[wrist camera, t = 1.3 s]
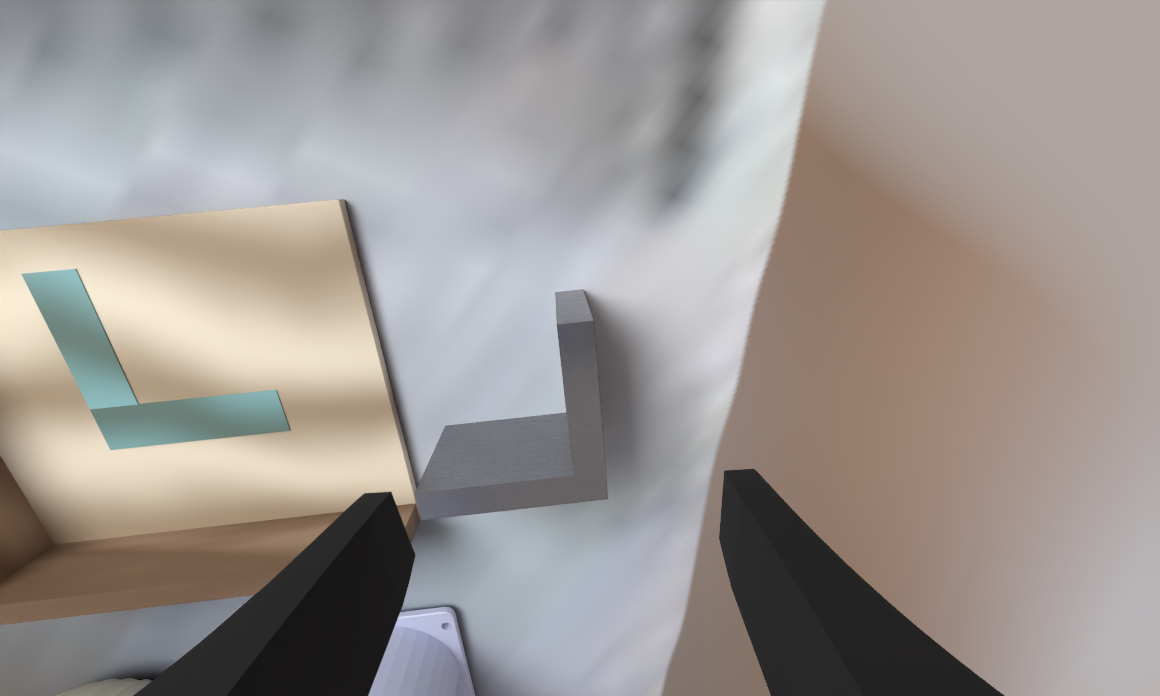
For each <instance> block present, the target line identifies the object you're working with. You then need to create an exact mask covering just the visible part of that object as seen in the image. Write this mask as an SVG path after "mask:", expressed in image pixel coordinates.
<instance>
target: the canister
mask: <svg viewBox="0 0 1160 696" xmlns="http://www.w3.org/2000/svg"><path fill="white" fill-rule="evenodd" d="M151 681H152V680H149V679H144V680H137V679H133V678H125V679H121V680H119V679H108V680H103V681H100V682H92V683H88V684H85V685H82V686H79V687H76V688H74V689H71V690H68V691H66V692H63V693H60V694H58V695H56V696H133V695H135V694H136V693H137V692H138V691H140V690H141V689H142V688H144V687H145V686H146V685H147V684H149V683H150V682H151Z"/></svg>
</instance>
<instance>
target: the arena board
mask: <svg viewBox="0 0 1160 696" xmlns="http://www.w3.org/2000/svg"><path fill="white" fill-rule="evenodd" d="M0 456H1V457H2V459H3V461H4V462H5V464H6V466H7V467H8V469H9V471H10V472H11V474H12V476H13V477H14V479H15V481H16V482H17V484H18V486H19V487H20V489H21V491H22V492H23V494H24V495H25V497H26V499H27V500H28V502H29V504H30V505H31V507H32V509H33V510H34V512H35V514H36V515H37V517H38V519H39V520H40V522H41V524H42V525H43V527H44V529H45V530H46V532H47V534H48V535H49V537H50V539H51V540H52V542H53V544H62V543H71V542H80V541H88V540H97V539H106V538H115V537H124V536H132V535H141V534H150V533H159V532H168V531H177V530H185V529H194V528H203V527H212V526H221V525H229V524H238V523H247V522H256V521H265V520H274V519H282V518H291V517H300V516H309V515H318V514H326V513H335V512H344V511H345V510H346V509H347V508H349V507H350V506H351V505H352V504H353V503H354V502H355V501H356V500H357V499H358V498H360V497H361V496H362V495H363V494H364V493H377V492H392V495H393V498H394V500H395V503H396V505H406V504H415V503H416V506H417V510H418V514H419V518H420V519H421V516H420V512H419V508H418V504H417V500H416V496H415V492H416V490H417V488H416V484H415V480H414V476H413V472H412V468H411V464H410V460H409V456H408V452H407V448H406V444H405V440H404V436H403V432H402V428H401V424H400V420H399V416H398V412H397V408H396V404H395V400H394V396H393V392H392V388H391V385H390V381H389V377H388V373H387V369H386V365H385V361H384V357H383V353H382V349H381V345H380V341H379V337H378V333H377V329H376V325H375V321H374V317H373V313H372V309H371V305H370V301H369V297H368V293H367V289H366V285H365V281H364V277H363V273H362V269H361V265H360V261H359V257H358V253H357V249H356V245H355V241H354V237H353V233H352V229H351V225H350V221H349V217H348V213H347V209H346V205H345V201H344V199H342V200H329V201H318V202H307V203H296V204H286V205H275V206H264V207H253V208H242V209H232V210H221V211H210V212H199V213H188V214H178V215H167V216H156V217H145V218H134V219H124V220H113V221H102V222H91V223H80V224H70V225H59V226H48V227H37V228H26V229H16V230H5V231H0Z"/></svg>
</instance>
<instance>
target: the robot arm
mask: <svg viewBox="0 0 1160 696" xmlns="http://www.w3.org/2000/svg"><path fill="white" fill-rule="evenodd" d="M723 483H724V484H723V496H722V509H721V523H720V535H719V539H720V544H721V548H722V552H723V556H724V559H725V564H726V567H727V572H728V575H729V579H730V583H731V587H732V590H733V593H734V595H735V599H736V601H737V604H738V607H739V609H740V612H741V615H742V618H743V621H744V623H745V626H746V629H747V631H748V634H749V637H750V640H751V642H752V645H753V648H754V651H755V653H756V656H757V659H758V661H759V664H760V667H761V669H762V672H763V675H764V678H765V680H766V683H767V686H768V689H769V691H770V694H771V696H1004V695H1003V694H1001V693H1000V692H999V691H997V690H996V689H995V688H993V687H992V686H991V685H990V684H988V683H987V682H986V681H984V680H983V679H982V678H980V677H979V676H978V675H976V674H975V673H974V672H972V671H971V670H970V669H969V668H968V667H966V666H965V665H964V664H962V663H961V662H960V661H959V660H957V659H956V658H955V657H954V656H952V655H951V654H950V653H949V652H947V651H946V650H945V649H943V648H942V647H941V646H940V645H938V644H937V643H936V642H935V641H934V640H933V639H931V638H930V637H929V636H928V635H926V634H925V633H924V632H923V631H922V630H920V629H919V628H918V627H917V626H916V625H914V624H913V623H912V622H911V621H909V619H907V618H906V617H905V616H904V615H903V614H902V613H900V612H899V611H898V610H897V609H896V608H895V607H893V606H892V605H891V604H890V603H889V602H888V601H887V600H886V599H884V598H883V597H882V596H881V595H880V594H879V593H878V592H877V591H876V590H874V589H873V588H872V587H871V586H870V585H869V584H868V583H867V582H865V580H863V579H862V578H861V577H860V576H859V575H858V574H857V573H856V572H855V571H854V570H853V569H852V568H851V567H849V566H848V565H847V564H846V563H845V562H844V561H843V560H842V559H841V558H840V557H839V556H838V555H837V554H836V553H835V552H834V551H833V550H832V549H831V548H830V547H829V546H828V545H827V544H826V543H825V542H824V541H823V540H822V539H821V538H820V537H818V535H817V534H816V533H815V532H813V530H812V529H811V528H810V527H809V526H808V525H807V524H806V523H805V522H804V521H803V520H802V519H801V518H800V517H799V516H798V515H797V514H796V513H795V512H794V511H793V510H792V509H791V508H790V507H789V505H788V504H787V503H786V502H785V501H784V500H783V499H782V498H781V497H780V496H779V495H778V494H777V493H776V492H775V491H774V489H772V487H771V486H770V485H769V484H768V483H767V482H766V481H765V480H764V479H763V478H762V476H761V475H760V474H759V473H758V472H757V471H756V470H754V469H745V470H729V471H724V482H723ZM414 559H415V553H414V550H413V548H412V545H411V542H410V540H409V537H408V535H407V532H406V529H405V527H404V524H403V521H402V519H401V516H400V513H399V511H398V508H397V505H396V503H395V500H394V498H393V495H392V492H377V493H364V494H363V495H362V496H361V497H360V498H358V499H357V500H356V501H355V502H354V503H353V504H352V505H351V506H350V507H349V508H347V509H346V510H345V511H344V512H343V513H342V514H341V515H340V516H339V517H338V518H337V519H336V520H335V521H334V522H333V523H332V524H331V525H329V526H328V527H327V528H326V529H325V530H324V531H323V532H322V533H321V534H320V535H319V536H318V537H317V538H316V539H315V540H314V541H313V542H312V543H311V544H310V545H308V546H307V547H306V548H305V549H304V550H303V551H302V552H301V553H300V554H299V555H298V556H297V557H296V558H295V559H294V560H292V561H291V562H290V563H289V564H288V565H287V566H286V567H285V568H284V569H283V570H282V571H281V572H280V573H279V574H278V575H276V576H275V577H274V578H273V579H272V580H271V581H270V582H269V583H268V584H267V585H265V586H264V587H263V588H262V589H261V590H260V591H259V592H257V593H256V594H255V595H254V596H253V597H252V598H251V599H250V600H248V601H247V602H246V603H245V604H244V605H243V606H242V607H240V608H239V609H238V610H237V611H236V612H235V613H234V614H232V615H231V616H230V617H229V618H228V619H227V620H226V621H225V622H223V623H222V624H221V625H220V626H219V627H218V628H217V629H215V630H214V631H213V632H212V633H211V634H210V635H208V636H207V637H206V638H205V639H204V640H202V641H201V642H200V643H199V644H198V645H196V646H195V647H194V648H193V649H191V650H190V651H189V652H188V653H187V654H185V655H184V656H183V657H182V658H180V659H179V660H178V661H177V662H175V663H174V664H173V665H172V666H170V667H169V668H168V669H167V670H165V671H164V672H163V673H161V674H160V675H159V676H158V677H156V678H155V679H154V680H153V681H151V682H150V683H149V684H147V685H146V686H145V687H144V688H142V689H141V690H140V691H138V692H137V693H136V694H135V695H133V696H475V692H474V688H473V684H472V680H471V676H470V672H469V667H468V663H467V659H466V655H465V651H464V647H463V643H462V639H461V635H460V630H459V626H458V622H457V618H456V614H455V611H454V610H453V609H452V608H450V607H439V608H431V609H422V610H414V611H406V612H400V611H401V608H402V606H403V602H404V599H405V595H406V591H407V587H408V584H409V580H410V576H411V571H412V567H413V563H414Z"/></svg>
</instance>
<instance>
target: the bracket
mask: <svg viewBox="0 0 1160 696" xmlns="http://www.w3.org/2000/svg"><path fill="white" fill-rule="evenodd" d="M555 296H556V316H557V330H558V339H559V348H560V357H561V366H562V375H563V384H564V394H565V403H566V412H567V413H559V414H550V415H541V416H532V417H523V418H513V419H504V420H495V421H486V422H476V423H467V424H458V425H449V426H445V428H444V430H443V432H442V434H441V437H440V439H439V441H438V443H437V445H436V448H435V450H434V452H433V454H432V456H431V459H430V461H429V463H428V465H427V467H426V470H425V472H424V474H423V476H422V479H421V481H420V483H419V485H418V487H417V490H416V492H415V496H416V500H417V504H418V508H419V512H420V516H421V520H428V519H437V518H446V517H454V516H463V515H472V514H480V513H489V512H498V511H507V510H515V509H524V508H533V507H542V506H550V505H559V504H568V503H576V502H585V501H594V500H603V499H608V492H607V479H606V467H605V454H604V442H603V430H602V417H601V405H600V393H599V380H598V368H597V356H596V343H595V331H594V320H593V317H592V314H591V311H590V308H589V305H588V303H587V300H586V297H585V294H584V291H583V290H573V291H563V292H555Z"/></svg>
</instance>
